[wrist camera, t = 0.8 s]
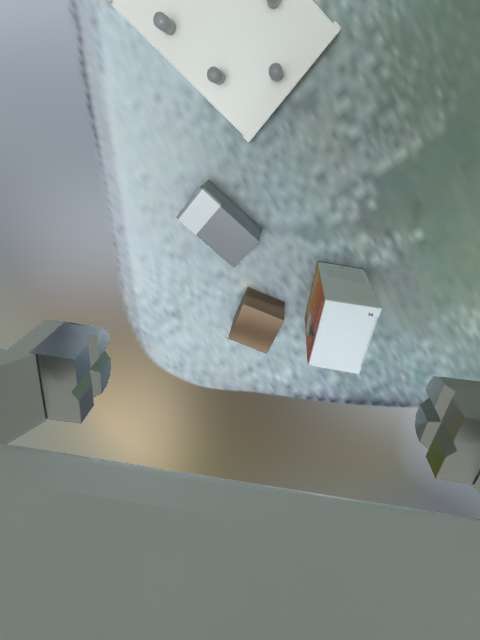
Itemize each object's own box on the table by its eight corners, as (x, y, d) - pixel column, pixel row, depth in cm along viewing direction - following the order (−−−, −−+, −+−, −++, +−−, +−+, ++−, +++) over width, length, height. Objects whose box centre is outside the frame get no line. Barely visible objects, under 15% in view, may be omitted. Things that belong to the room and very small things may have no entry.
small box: (317, 260, 46) (324, 297, 36) (364, 268, 45) (384, 307, 36) (303, 319, 49) (306, 366, 40) (346, 327, 49) (360, 376, 40)
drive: (209, 179, 43) (199, 187, 38) (262, 228, 45) (259, 241, 40) (187, 207, 44) (175, 217, 40) (238, 253, 46) (233, 268, 42)
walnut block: (247, 286, 48) (243, 304, 44) (284, 301, 49) (283, 320, 44) (233, 319, 51) (228, 338, 46) (268, 333, 51) (266, 353, 47)
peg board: (184, -146, 31) (171, -179, 28) (338, 33, 35) (343, 24, 32) (108, 0, 36) (88, -12, 33) (250, 141, 40) (247, 143, 37)
